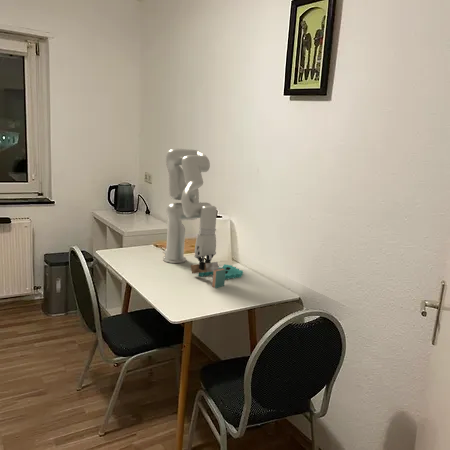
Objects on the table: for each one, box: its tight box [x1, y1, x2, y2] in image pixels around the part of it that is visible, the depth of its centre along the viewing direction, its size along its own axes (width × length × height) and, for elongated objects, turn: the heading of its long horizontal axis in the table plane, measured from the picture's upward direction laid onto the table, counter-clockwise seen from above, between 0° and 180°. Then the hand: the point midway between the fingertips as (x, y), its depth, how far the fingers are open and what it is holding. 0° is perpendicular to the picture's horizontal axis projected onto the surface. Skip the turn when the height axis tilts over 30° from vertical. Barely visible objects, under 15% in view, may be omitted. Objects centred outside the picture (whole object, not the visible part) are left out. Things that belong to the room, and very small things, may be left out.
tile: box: [211, 267, 226, 289], centre depth 212 cm, size 2×6×8 cm, turn 136°
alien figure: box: [198, 262, 244, 280], centre depth 233 cm, size 20×2×20 cm
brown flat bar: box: [190, 261, 219, 274], centre depth 218 cm, size 16×3×4 cm, turn 45°
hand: (204, 268), depth 218 cm, fingers closed on brown flat bar, 3 cm apart
